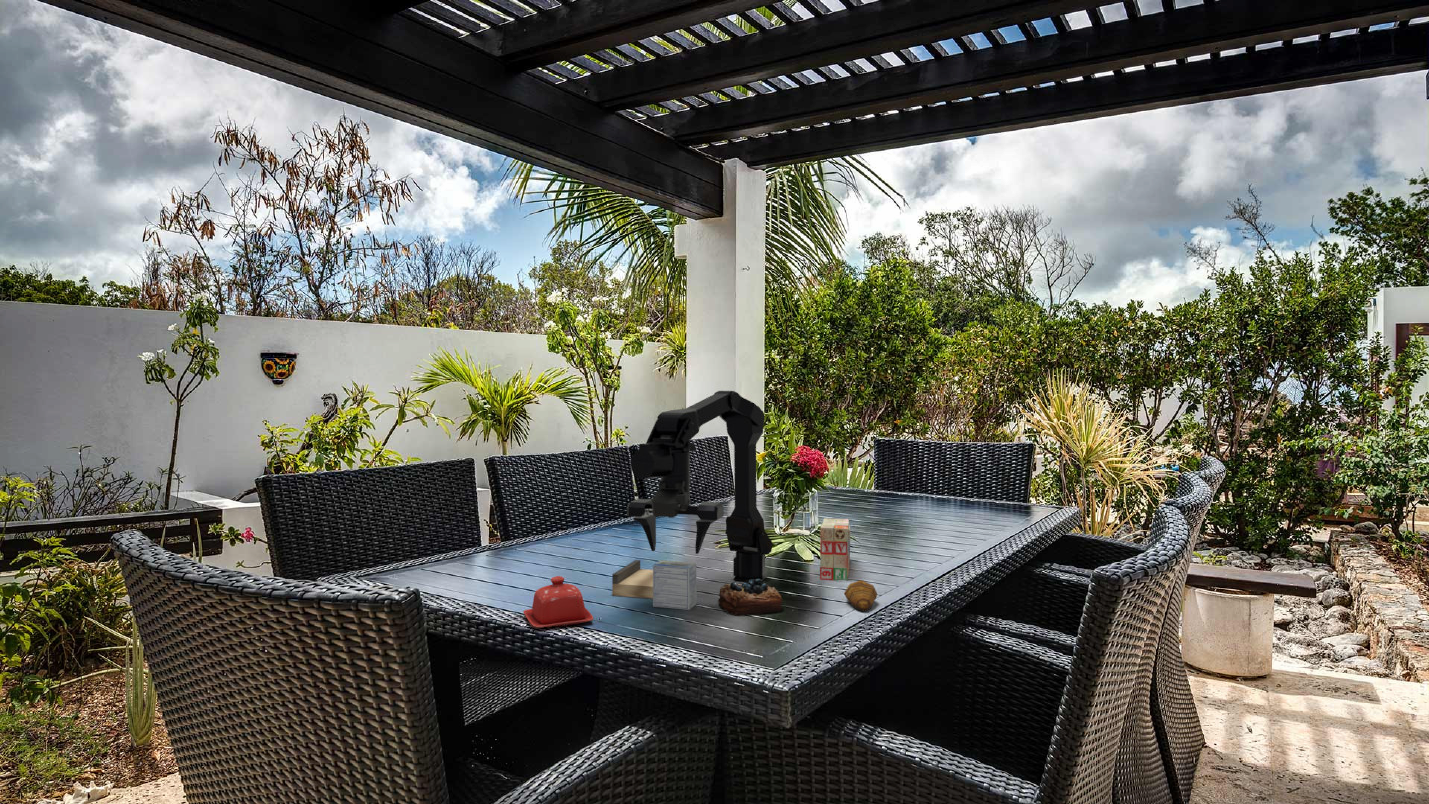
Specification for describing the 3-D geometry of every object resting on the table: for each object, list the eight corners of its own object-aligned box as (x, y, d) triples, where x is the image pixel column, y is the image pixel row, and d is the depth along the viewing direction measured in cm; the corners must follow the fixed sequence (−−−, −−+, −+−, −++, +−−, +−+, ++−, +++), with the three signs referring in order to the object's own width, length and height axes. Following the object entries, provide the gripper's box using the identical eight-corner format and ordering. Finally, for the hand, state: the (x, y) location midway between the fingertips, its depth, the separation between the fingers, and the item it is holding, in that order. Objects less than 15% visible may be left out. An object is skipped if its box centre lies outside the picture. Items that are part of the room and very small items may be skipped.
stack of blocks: (825, 560, 205) (825, 511, 204) (850, 561, 203) (850, 512, 203) (819, 580, 184) (820, 526, 183) (847, 581, 182) (847, 527, 182)
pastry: (712, 604, 164) (712, 575, 164) (765, 598, 168) (766, 570, 168) (732, 619, 154) (732, 588, 153) (789, 613, 158) (789, 583, 158)
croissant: (882, 614, 157) (882, 588, 157) (846, 613, 158) (847, 588, 157) (873, 596, 171) (873, 572, 170) (841, 595, 171) (841, 571, 171)
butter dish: (533, 634, 144) (532, 586, 144) (521, 616, 155) (521, 572, 154) (595, 626, 149) (595, 580, 148) (580, 610, 159) (580, 567, 159)
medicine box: (697, 605, 162) (697, 562, 162) (689, 611, 158) (689, 567, 158) (661, 601, 165) (661, 559, 165) (652, 607, 161) (652, 564, 160)
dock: (694, 583, 179) (694, 563, 179) (675, 600, 166) (676, 578, 165) (635, 579, 183) (635, 560, 183) (612, 595, 169) (612, 574, 169)
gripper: (616, 477, 155) (616, 558, 156) (710, 481, 151) (709, 564, 151) (636, 471, 166) (636, 546, 167) (724, 474, 161) (724, 551, 162)
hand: (675, 552), depth 161 cm, fingers open, 9 cm apart
